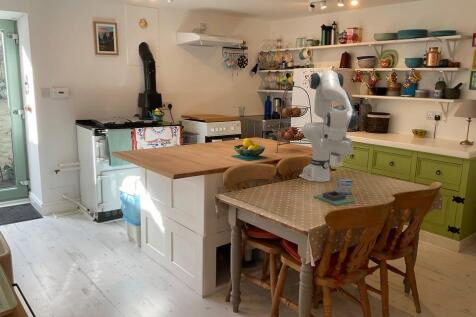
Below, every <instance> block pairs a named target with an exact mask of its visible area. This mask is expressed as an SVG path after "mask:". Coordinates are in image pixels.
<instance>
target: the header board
mask: <svg viewBox="0 0 476 317" xmlns="http://www.w3.org/2000/svg"><path fill="white" fill-rule="evenodd" d="M313 199H317V200H319V201H322V202H324V203H327V204H329V205H333V206H335V207H340V206H344V205H349V204H354V203H355V202H356V200H354V199H352V198H348V197H347V195H345V194H342V193H339V192H336V190H333V191H327V192H323V193H322V194H317V195H313ZM348 203H349V204H348ZM343 204H344V205H343ZM339 205H340V206H339Z"/></svg>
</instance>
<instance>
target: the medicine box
mask: <svg viewBox="0 0 476 317" xmlns="http://www.w3.org/2000/svg"><path fill="white" fill-rule="evenodd" d="M335 191H336V192H339V193H342V194H345V195H346V196H347V195H348V196H349V195H352V192H353V180H352V179H350V178H347V179H345V178H344V179H343V178H342V179H336V190H335Z"/></svg>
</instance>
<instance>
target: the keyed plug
mask: <svg viewBox="0 0 476 317" xmlns="http://www.w3.org/2000/svg"><path fill="white" fill-rule="evenodd" d="M338 158H340V154H338V153H331V155H330V154H329V160H330V162H329V167H335V168H336V167H343V163H344V158H343V159H342V162H338Z"/></svg>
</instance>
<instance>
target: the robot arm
mask: <svg viewBox="0 0 476 317" xmlns="http://www.w3.org/2000/svg"><path fill="white" fill-rule="evenodd" d="M344 83H345V78H344V75H343V74H342V72H341V73H340V72H336V71H334V70H332V69H330V70H326V71H324V72H313V73H311V74H310V76H309V78H308V85H309V88H310V89H311V90H315V95H314V107H313V108H314V114H315V115H316V116H317V117H319V118H320V119H322V122H321V121H320V122H314V121H311V122H306V123H305V124H304V125H303V127H302V134H303V136H304V137H305V138H306V139H307V141H309V143H310V144H311V148H312V151H311V152H312V156H311V157H312V158H309V159H308V160H309V161H310V162H309V163H308V164H307V165H306V166H304V168H303V169H302V173H301V174H299V176H298V177H300V178H302V179H304V180H306V181H308V182H320V183H321V182H324V183H325V182H329V181H331V175H330V155H331V153H338V154H340V158H338V162H342V159H343V160H344V157H345V156H352V155H354V147H353V139H351V138H350V137H347V133H348V132H347V129H348V130H354V129H355V128H357V127H358V126H359V123H360V116H359V114H358V112H357V111H356V109H355V107H354V104H353V102H352V100H351V96H350V95H349V93H348V92H347V91H346V90H345V89H344V88H343V86H344V85H345V84H344ZM333 102H335V103H339V104H341V105H342V106H341V105H335V106H333V105H332V103H333ZM332 106H333V107H332ZM321 140H322V141H321Z"/></svg>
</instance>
